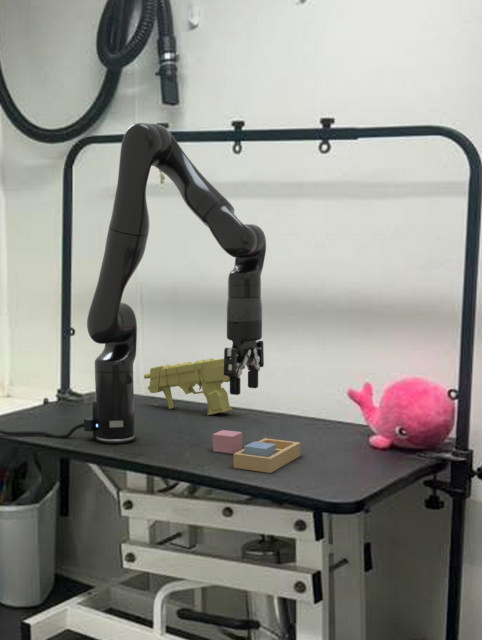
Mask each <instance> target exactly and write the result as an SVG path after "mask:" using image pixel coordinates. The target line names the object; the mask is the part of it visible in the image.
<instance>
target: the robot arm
mask: <svg viewBox="0 0 482 640" xmlns="http://www.w3.org/2000/svg"><path fill="white" fill-rule="evenodd" d="M152 167H155V169H157V170H158V171H161V173H163V174H164V175H165V176H167V177H168V178H169V179H170V181H171V182H172V183H173V184H174V185H175V187H176V189H177V190H178V192H179V194H180V196H181V198H182V200H183V202H184V203H185V205H186V206H187V207H188V209H189V210H190V211H191V213H193V214H194V215H195V216H196V217H197V218H198V219H199V220H200V221H201V222H202V223H203V225H205V226H206V227H207V228H208V229H209V231H210V233H211V234H212V236H213V238H214V240H216V243H218V245H219V246H220V248H221V249H222V250H223V251H224V252H225V253H226V254H228V255H229V256H230V257H233V258H234V266H233V269H231V271H230V272H229V274H228V278H227V303H226V339H227V340H229V341H231V342H232V345H231V347H224V350H223V358H224V375H226V376H228V377H230V381H229V394H230V395H233V396H239V395H241V375H242V374H241V372H242V373H243V370H245V369H246V368H247V370H248V371H247V387H248V388H249V389H258V388H259V372H260V370H261V368H264V367H265V355H264V353H265V352H264V341H263V340H262V338H263V302H262V274H263V273H262V272H263V269H264V264H265V258H266V251H267V240H266V239H267V238H266V235H265V232H264V230H263V229H262V228H261V227H260V226H259V225H257V224H253V223H245V224H244V223H243V222H242V221H241V220H240V219H239V218H238V217H237V215H236V214H235V207H234V206H233V205H232V203H231V202H230V201H229V200H228V199H227V198H226V197H225V196H224V195H223V194H222V193H221V192H220V191H219V190H218V189H217V188H216V187H215V186H214V185H213V184H212V183H211V181H209V180H207V178H206V177H205V176H204V175H203V174H202V172H200V170H199V169H198V168H197V166H195V165H194V163H193V162H192V160H191V159H190V157H188V155H187V154H186V153H185V152H184V150H183V149H182V147H181V146H180V144H179V143H178V142H177V140H176V139H175V137H174V136H173V135H172V133H171V132H170V131H169V130H168V129H167V128H166V127H165V126H163V125H161V124H157V123H147V122H138V123H137V122H136V123H134V124H132V125H131V126H129V127H128V129H127V130H126V131H125V133H124V134H123V137H122V141H121V145H120V153H119V165H118V173H117V174H118V175H117V184H116V190H115V194H114V200H113V206H112V211H111V215H110V220H109V225H108V229H107V234H106V241H105V248H104V252H103V256H102V257H103V258H102V262H101V266H100V270H99V275H98V280H97V284H96V287H95V291H94V294H93V297H92V300H91V303H90V307H89V311H88V314H87V320H86V328H87V333H88V335H89V338H90V339H91V340H92V341H93V342H94V343H96V344H99V345H104V347H103V350H102V351H101V353H100V354H99V355H98V356H97V357H96V358H95V360H94V390H95V400H93V401H92V402H91V407H92V408H91V409H92V410H91V411H92V413H91V414H92V416H90V417H87V418H85V419H83V423H79V424H77V425H74V426H73V427H72V428H71V429H70V430H69V431H68V432H67V433H64V434H56V433H51V432H47V431H40V430H39V431H38V430H37V431H36V430H26V431H25V430H24V431H22V430H21V431H20V430H19V431H17V430H16V431H12V430H11V431H10V430H9V431H8V430H3V429H0V434H2V435H8V436H37V435H38V436H45V437H49V438H55V439H66V438H69V437H70V436H71V435H73V434H74V432H75V431H77V430H78V429H81V428H83V431H84V432H89V433H90V432H92V439H93V440H94V441H97V442H98V443H103V444H111V445H112V444H113V445H114V444H115V445H116V444H117V445H119V444H126V443H130V442H133V441H135V439H136V435H135V397H134V396H135V395H134V391H135V390H134V389H135V388H134V363H135V359H136V357H137V343H138V341H137V340H138V323H137V317H136V313H135V311H134V309H133V308H132V306H130V305H129V304H127V303H125V302H122V299H123V295H124V292H125V288H126V287H127V285H128V283H129V281H130V280H131V278H132V276H133V275H134V273H135V272H136V270H137V268H138V266H139V265H140V263H141V261H142V259H143V258H144V255H145V251H146V247H147V242H148V237H149V233H150V214H149V209H148V202H147V186H148V182H149V181H148V180H149V176H150V171H151V168H152ZM228 365H229V366H230V368H229V370H228Z"/></svg>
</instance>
